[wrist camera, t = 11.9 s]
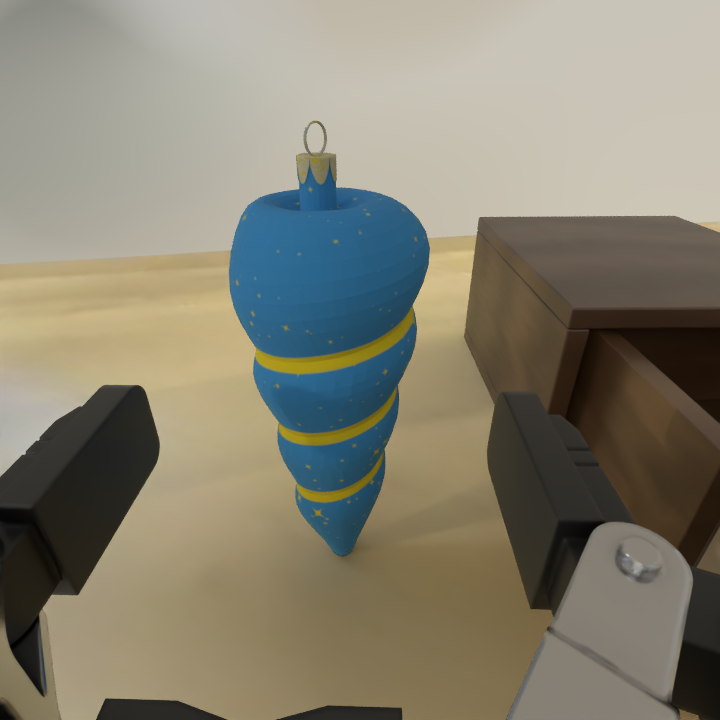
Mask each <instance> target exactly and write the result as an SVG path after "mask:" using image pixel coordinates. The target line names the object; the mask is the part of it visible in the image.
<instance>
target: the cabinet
mask: <svg viewBox="0 0 720 720" xmlns="http://www.w3.org/2000/svg"><path fill="white" fill-rule="evenodd" d="M618 328H720V233H719V232H716V231H714V230H711V229H708V228H706V227H703V226H700V225H698V224H695V223H692V222H689V221H687V220H684V219H681V218H679V217H676V216H613V217H612V216H606V217H605V216H597V217H595V216H594V217H480V218H479V222H478V232H477V238H476V246H475V254H474V262H473V270H472V278H471V286H470V294H469V302H468V310H467V318H466V328H465V334H464V338H465V340H466V342H467V344H468V347H469V349H470V351H471V353H472V355H473V358H474V360H475V362H476V364H477V366H478V369H479V371H480V373H481V375H482V378H483V380H484V382H485V384H486V386H487V389H488V391H489V393H490V395H491V397H492V400H493V402H494V404H495V402H496V397H497V395H498V393H499V392H500V391H516V392H535V393H536V394H537V395H538V397H539V399H540V401H541V402H542V404H543V406H544V408H545V410H546V412H547V413H548V415H561V416H562V417H563V418H566V415H567V411H568V408H569V404H570V400H571V397H572V393H573V389H574V386H575V382H576V379H577V375H578V371H579V368H580V364H581V360H582V357H583V353H584V350H585V346H586V342H587V339H588V335H589V329H618Z"/></svg>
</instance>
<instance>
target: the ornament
mask: <svg viewBox="0 0 720 720" xmlns="http://www.w3.org/2000/svg"><path fill="white" fill-rule="evenodd" d="M312 123H318V124H319V125H320V126H321V127H322V129H323V133H324V145H323V148H322V150H321V152H320V153H311V152H310V151H309V149H308V146H307V142H306V134H307V130H308V128H309V126H310V125H311V124H312ZM326 142H327V136H326V131H325V128H324V126H323V125H322V124H321V123H320V122H319V121H312V122H311V123H310V124H309V125H308V127H306V128H305V131H304V145H305V148H306V150H307V152H308V153H302V154H299V155H297V156H296V161H297V173H298V179H299V188H300V189H298V190H290V191H283V192H278V193H274V194H269V195H266V196H263V197H260V198H258V199H257V200H255V201H254V202H253V203H251V204H249V205H248V206H247V208H246V210H245V211H244V213H243V214H242V216H241V218H240V221H239V224H238V227H237V229H236V232H235V236H234V241H233V245H232V250H231V258H230V267H229V281H230V293H231V297H232V301H233V305H234V309H235V311H236V313H237V316H238V318H239V320H240V322H241V324H242V326H243V328H244V329H245V331H246V333H247V335H248V336H249V338H250V339H251V341H252V342H253V344H254V346H255V347H256V349H257V350H256V354H255V359H254V367H253V374H254V379H255V382H256V385H257V388H258V390H259V392H260V395H261V397H262V398H263V400H264V402H265V403H266V405H267V406H268V407H269V409H270V410H271V412H272V413H273V415H274V416H275V417H276V419H277V420H278V422H279V426H278V445H279V449H280V452H281V455H282V457H283V460H284V462H285V464H286V465H287V467H288V469H289V470H290V472H291V474H292V475H293V477H294V478H295V480H296V482H297V483H296V502H297V505H298V508H299V510H300V512H301V514H302V515H303V517H304V518H305V519H306V521H307V522H308V523H309V524H310V525H311V526H312V527H313V528H314V529H315V530H316V532H317V533H318V534H319V535H320V536H321V537H322V538H323V539H324V540H325V541H326V542H327V544H328V545H329V546H330V547H331V549H332V550H333V551H334V553H336V554H337V555H341V556H343V555H346V554H348V553H350V552H351V551H352V549H353V547H354V545H355V543H356V541H357V539H358V536H359V534H360V532H361V530H362V528H363V526H364V524H365V522H366V520H367V518H368V516H369V514H370V512H371V510H372V508H373V506H374V504H375V502H376V500H377V497H378V495H379V492H380V490H381V486H382V482H383V479H384V474H385V451H384V449H385V447H386V445H387V443H388V441H389V438H390V436H391V434H392V431H393V428H394V425H395V422H396V419H397V415H398V406H399V392H398V383H399V381H400V380H401V378H402V376H403V374H404V372H405V370H406V367H407V365H408V363H409V361H410V359H411V357H412V354H413V350H414V347H415V342H416V334H417V325H416V318H415V313H414V309H413V306H412V305H413V303H414V301H415V299H416V297H417V295H418V293H419V291H420V289H421V287H422V284H423V282H424V278H425V275H426V272H427V268H428V265H429V252H430V247H429V242H428V238H427V234H426V231H425V229H424V228H423V226H422V224H421V223H420V221H419V219H418V218H417V217H416V216H415V215H414V214H413V213H412V212H411V211H410V210H409V209H408V208H407V207H406V206H404V205H403V204H401V203H400V202H398V201H397V200H394V199H393V198H391V197H388V196H385V195H382V194H380V193H376V192H371V191H367V190H360V189H352V188H336V154H330V153H323V151H324V150H325V147H326Z"/></svg>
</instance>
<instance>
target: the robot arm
mask: <svg viewBox="0 0 720 720" xmlns="http://www.w3.org/2000/svg"><path fill="white" fill-rule="evenodd" d="M159 449H160V443H159V437H158V433H157V430H156V426H155V423H154V419H153V416H152V412H151V409H150V405H149V402H148V398H147V395H146V392H145V390H144V389H143V388H142V387H141V386H139V385H104V386H102V387H101V388H99V389H98V391H97V392H96V393H95V394H94V395H93V396H92V397H91V398H90V399H89V400H88V401H87V402H86V403H85V404H84V405H83V406H82V407H78V408H76V409H74V410H73V411H71V412H69V413H68V414H66V415H64V416H63V417H61V418H60V419H58V420H56V421H55V422H54V423H53V424H52V425H51V426H50V427H49V428H48V429H47V430H46V431H45V432H44V433H43V434H42V435H41V436H40V440H39V441H36V442H35V443H34V444H33V445H32V446H31V447H30V448H29V449H28V450H27V451H26V455H22V456H21V457H20V458H19V459H18V460H17V461H16V462H15V463H14V464H13V465H12V466H11V467H10V468H9V469H8V470H7V471H6V472H5V473H4V474H3V475H2V476H1V477H0V720H61V716H60V713H59V708H58V703H57V695H56V687H55V679H54V671H53V663H52V655H51V646H50V638H49V630H48V622H47V617H46V614H45V612H44V610H43V609H42V608H43V607H44V605H45V604H46V602H47V601H48V599H49V598H50V596H51V595H79V593H80V591H81V589H82V588H83V586H84V584H85V583H86V581H87V579H88V578H89V576H90V574H91V573H92V571H93V569H94V568H95V566H96V564H97V563H98V561H99V559H100V558H101V556H102V554H103V553H104V551H105V549H106V547H107V546H108V544H109V542H110V541H111V539H112V537H113V536H114V534H115V532H116V531H117V529H118V527H119V526H120V524H121V522H122V521H123V519H124V517H125V516H126V514H127V512H128V511H129V509H130V507H131V505H132V504H133V502H134V500H135V499H136V497H137V495H138V494H139V492H140V490H141V489H142V487H143V485H144V484H145V482H146V480H147V479H148V477H149V475H150V474H151V472H152V470H153V469H154V467H155V465H156V463H157V460H158V456H159ZM487 460H488V469H489V473H490V476H491V480H492V483H493V486H494V490H495V493H496V496H497V500H498V503H499V506H500V509H501V513H502V516H503V519H504V523H505V526H506V529H507V533H508V536H509V539H510V542H511V546H512V549H513V552H514V556H515V559H516V562H517V566H518V569H519V572H520V575H521V579H522V582H523V585H524V589H525V592H526V595H527V599H528V602H529V605H530V608H531V609H545V610H551V611H552V614H553V617H554V619H553V621H552V623H551V625H550V627H548V628H547V630H546V632H545V634H544V636H543V638H542V640H541V642H540V645H539V647H538V649H537V651H536V654H535V656H534V658H533V660H532V663H531V665H530V667H529V669H528V671H527V674H526V676H525V678H524V680H523V683H522V685H521V687H520V689H519V692H518V694H517V696H516V698H515V700H514V703H513V705H512V707H511V709H510V712H509V714H508V716H507V718H506V720H680V713H679V709H682V710H685V711H687V712H690V713H693V714H695V715H698V716H699V718H700V720H720V574H716V573H713V572H709V571H705V570H702V569H699V568H696V567H693V566H690V565H688V563H687V562H686V560H685V558H684V557H683V556H682V555H681V553H680V552H679V551H678V550H677V549H676V548H675V547H674V546H673V545H672V544H670V543H669V542H668V541H667V540H665V539H664V538H662V537H661V536H659V535H658V534H656V533H654V532H652V531H650V530H648V529H646V528H644V527H641V526H638V525H636V523H635V521H634V520H633V518H632V516H631V515H630V513H629V511H628V510H627V508H626V506H625V505H624V503H623V502H622V500H621V498H620V497H619V495H618V493H617V492H616V490H615V488H614V487H613V485H612V484H611V482H610V480H609V479H608V477H607V475H606V474H605V472H604V470H603V469H602V467H599V462H598V461H597V459H596V457H595V456H594V454H593V452H590V447H589V446H588V444H587V443H586V441H585V439H584V438H583V436H582V434H581V433H580V431H579V430H578V429H577V428H576V427H574V426H573V425H572V424H571V423H569V422H568V421H567V420H566V419H565V418H563V417H562V416H561V415H548V413H547V412H546V410H545V408H544V406H543V404H542V402H541V401H540V399H539V397H538V395H537V394H536V393H535V392H516V391H500V392H499V393H498V395H497V397H496V402H495V408H494V413H493V419H492V424H491V430H490V436H489V441H488V449H487ZM678 708H679V709H678ZM96 720H227V719H224V718H221V717H219V716H216V715H213V714H211V713H208V712H206V711H203V710H200V709H198V708H195V707H192V706H190V705H187V704H185V703H182V702H179V701H170V700H138V699H107V698H106V699H105V701H104V703H103V705H102V707H101V710H100V712H99V714H98V716H97V719H96ZM277 720H402V708H388V707H356V706H325V707H321V708H317V709H314V710H310V711H306V712H303V713H299V714H295V715H292V716H288V717H284V718H281V719H277Z"/></svg>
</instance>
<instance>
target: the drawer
mask: <svg viewBox="0 0 720 720" xmlns="http://www.w3.org/2000/svg"><path fill="white" fill-rule="evenodd" d="M565 419H566V420H567V421H568V422H569V423H571V424H572V425H573V426H574V427H576V428H577V429H578V430H579V431H580V433H581V434H582V436H583V438H584V439H585V441H586V443H587V444H588V446H589V447H590V452H593V454H594V456H595V457H596V459H597V461H598V462H599V467H602V469H603V470H604V472H605V474H606V475H607V477H608V479H609V480H610V482H611V484H612V485H613V487H614V488H615V490H616V492H617V493H618V495H619V497H620V498H621V500H622V502H623V503H624V505H625V506H626V508H627V510H628V511H629V513H630V515H631V516H632V518H633V520H634V521H635V523H636V525H638V526H641V527H644V528H646V529H648V530H650V531H652V532H654V533H656V534H658V535H659V536H661V537H662V538H664V539H665V540H667V541H668V542H669V543H670V544H672V545H673V546H674V547H675V548H676V549H677V550H678V551H679V552H680V553H681V555H682V556H683V557H684V558H685V560H686V562H687V563H688V565H690V566H693V567H696V568H699V569H702V570H705V571H709V572H713V573H716V574H720V328H618V329H589V335H588V339H587V342H586V346H585V350H584V353H583V357H582V360H581V364H580V368H579V371H578V375H577V379H576V382H575V386H574V389H573V393H572V397H571V400H570V404H569V408H568V411H567V415H566V418H565Z"/></svg>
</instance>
